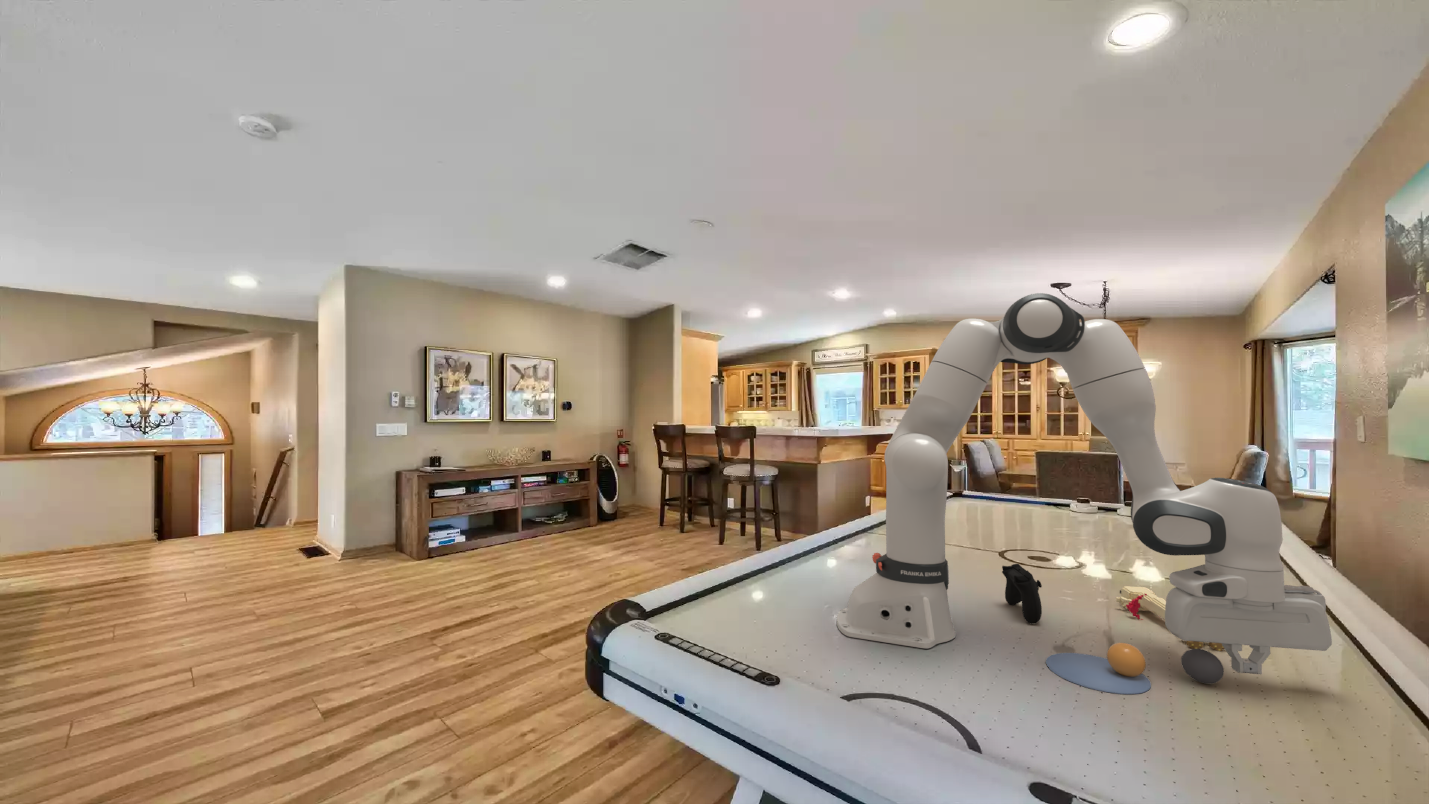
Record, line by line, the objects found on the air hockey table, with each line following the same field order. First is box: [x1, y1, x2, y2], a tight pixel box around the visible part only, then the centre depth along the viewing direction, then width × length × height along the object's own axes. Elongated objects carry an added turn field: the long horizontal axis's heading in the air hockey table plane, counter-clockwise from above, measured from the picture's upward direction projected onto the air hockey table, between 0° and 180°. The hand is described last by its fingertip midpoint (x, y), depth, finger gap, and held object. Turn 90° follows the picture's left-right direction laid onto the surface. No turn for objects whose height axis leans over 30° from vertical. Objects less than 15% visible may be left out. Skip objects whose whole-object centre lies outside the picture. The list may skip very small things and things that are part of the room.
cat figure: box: [1115, 585, 1225, 652], centre depth 108 cm, size 10×9×25 cm
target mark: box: [1045, 652, 1152, 695], centre depth 88 cm, size 14×14×1 cm
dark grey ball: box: [1180, 648, 1225, 685], centre depth 85 cm, size 5×5×5 cm
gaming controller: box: [1001, 563, 1043, 625], centre depth 115 cm, size 14×6×10 cm, turn 168°
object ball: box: [1106, 642, 1147, 677], centre depth 87 cm, size 5×5×5 cm
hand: (1246, 672), depth 83 cm, fingers closed
